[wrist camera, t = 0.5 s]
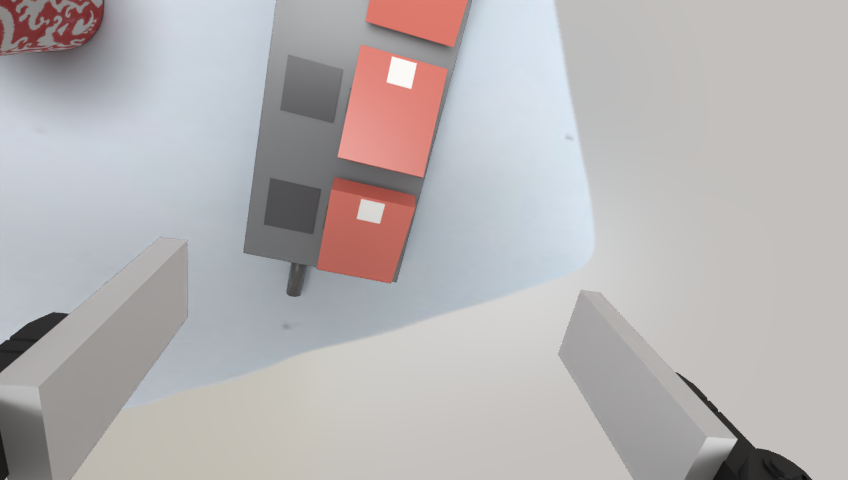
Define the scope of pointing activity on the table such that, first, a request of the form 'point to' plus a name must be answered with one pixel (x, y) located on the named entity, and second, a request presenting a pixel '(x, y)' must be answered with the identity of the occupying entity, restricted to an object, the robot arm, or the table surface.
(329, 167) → the power strip
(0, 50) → the mug
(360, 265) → the rocker
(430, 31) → the block
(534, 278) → the table surface
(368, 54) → the red box
